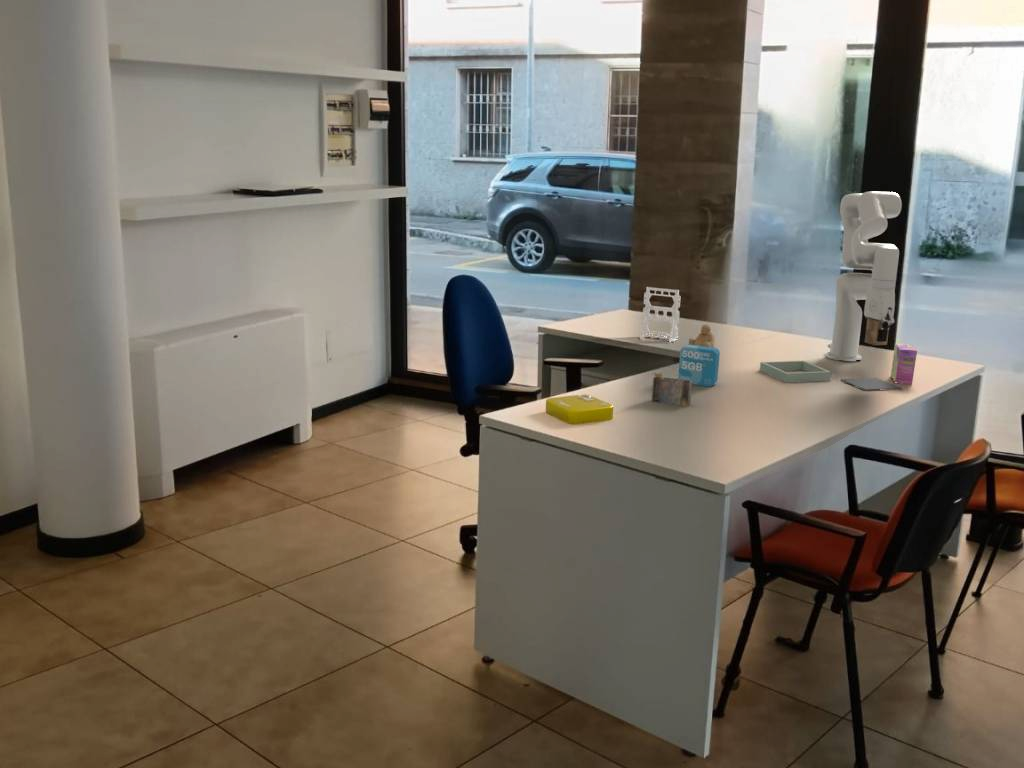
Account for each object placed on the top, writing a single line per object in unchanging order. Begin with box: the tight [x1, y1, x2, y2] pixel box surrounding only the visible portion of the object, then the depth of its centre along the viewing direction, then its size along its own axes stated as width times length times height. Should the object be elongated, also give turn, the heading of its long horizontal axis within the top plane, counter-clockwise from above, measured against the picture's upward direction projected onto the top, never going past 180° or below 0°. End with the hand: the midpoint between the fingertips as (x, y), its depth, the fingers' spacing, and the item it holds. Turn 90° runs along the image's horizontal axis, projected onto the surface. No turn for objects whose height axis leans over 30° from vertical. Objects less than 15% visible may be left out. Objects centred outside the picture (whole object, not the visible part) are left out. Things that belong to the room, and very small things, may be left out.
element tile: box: [545, 393, 614, 425], centre depth 300 cm, size 15×15×5 cm
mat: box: [839, 377, 903, 391], centre depth 350 cm, size 14×14×1 cm
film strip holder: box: [640, 286, 682, 342], centre depth 410 cm, size 14×14×20 cm
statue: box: [687, 323, 715, 348], centre depth 379 cm, size 12×14×10 cm
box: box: [890, 342, 918, 385], centre depth 356 cm, size 10×6×12 cm, turn 168°
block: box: [864, 318, 890, 346], centre depth 345 cm, size 5×5×8 cm
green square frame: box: [759, 360, 832, 383], centre depth 359 cm, size 17×17×3 cm
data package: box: [677, 344, 721, 387], centre depth 342 cm, size 12×4×12 cm, turn 65°
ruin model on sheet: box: [651, 372, 693, 407], centre depth 317 cm, size 11×3×10 cm, turn 69°
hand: (876, 339), depth 346 cm, fingers closed on block, 5 cm apart
